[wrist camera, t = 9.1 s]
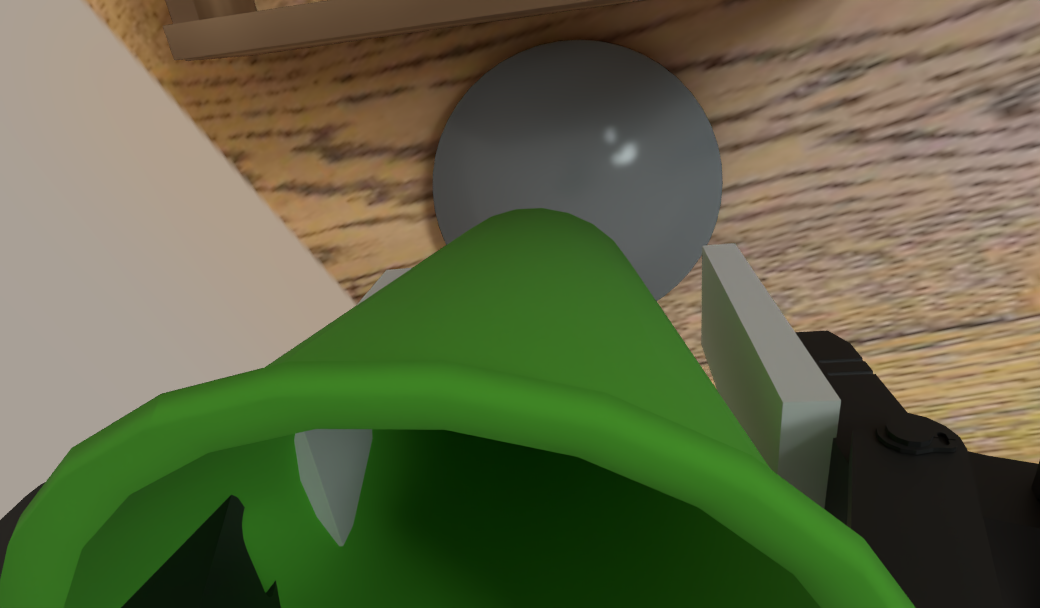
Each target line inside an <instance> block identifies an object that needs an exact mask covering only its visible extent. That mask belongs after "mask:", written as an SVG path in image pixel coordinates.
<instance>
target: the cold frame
mask: <svg viewBox="0 0 1040 608" xmlns="http://www.w3.org/2000/svg"><path fill="white" fill-rule="evenodd" d="M165 1H166V4H167V7H168V10H169V13H170V16H171V19H172V22H173V24H171V25H164V26H163V29H164V32H165V34H166V37H167V40H168V43H169V46H170V49H171V52H172V55H173V58H174V60H183V59H185V60H186V61H191V60H204V59H216V58H228V57H241V56H250V55H257V54H264V53H272V52H279V51H286V50H293V49H300V48H307V47H314V46H321V45H329V44H336V43H343V42H350V41H357V40H364V39H371V38H378V37H385V36H393V35H400V34H407V33H414V32H421V31H428V30H435V29H442V28H450V27H457V26H464V25H471V24H478V23H485V22H492V21H499V20H506V19H514V18H521V17H528V16H535V15H542V14H549V13H556V12H563V11H570V10H578V9H585V8H592V7H599V6H606V5H613V4H620V3H627V2H635V1H642V0H327V1H321V2H314V3H308V4H301V5H295V6H288V7H282V8H275V9H269V10H262V11H257V10H256V6H255V3H254V0H165Z"/></svg>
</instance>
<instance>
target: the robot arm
mask: <svg viewBox="0 0 1040 608" xmlns="http://www.w3.org/2000/svg"><path fill="white" fill-rule="evenodd" d="M410 269H412V268H405V269H392V270H386V271H385V272H384V273H383V275H382V276H381V277H380V278H379V279H378V280H377V282H376V283H375V284H374V285H373V286H372V287H371V289H370V290H369V291H368V292H367V293H366V294H365V296H364V297H363V298H362V299H361V300H360V301H359V303H358V304H360V303H361V302H363V301H364V300H366V299H367V298H369V297H370V296H372V295H373V294H374V293H376V292H377V291H379V290H380V289H382V288H383V287H385V286H386V285H388V284H389V283H391V282H392V281H394V280H395V279H397V278H398V277H400V276H401V275H403V274H404V273H406V272H407V271H409V270H410ZM358 304H357V305H358ZM357 305H356V306H357ZM701 345H702V348H703V350H704V353H705V356H706V359H707V362H708V365H709V368H710V370H711V373H712V376H713V379H714V382H715V385H716V387H717V390H718V392H719V394H720V395H721V397H722V398H723V400H724V401H725V403H726V404H727V406H728V407H729V409H730V410H731V412H732V413H733V414H734V416H735V417H736V419H737V420H738V422H739V423H740V425H741V426H742V428H743V429H744V431H745V432H746V434H747V435H748V437H749V438H750V439H751V441H752V442H753V444H754V445H755V447H756V448H757V450H758V451H759V453H760V454H761V456H762V457H763V459H764V460H765V461H766V463H767V464H768V466H769V467H770V469H771V470H772V471H774V472H775V473H776V474H778V475H779V476H780V477H782V478H783V479H784V480H786V481H787V482H788V483H790V484H791V485H793V486H794V487H795V488H797V489H798V490H799V491H801V492H802V493H803V494H805V495H806V496H807V497H809V498H810V499H811V500H813V501H814V502H815V503H817V504H818V505H819V506H821V507H822V508H823V509H825V510H826V511H828V512H829V513H830V514H832V515H833V516H834V517H836V518H837V519H838V520H840V521H841V522H842V523H844V524H845V525H846V526H848V527H849V528H850V529H852V530H853V531H854V532H856V533H857V534H859V535H860V536H861V537H863V538H864V539H865V541H866V542H867V543H868V545H869V546H870V547H871V549H872V550H873V551H874V553H875V554H876V555H877V557H878V558H879V559H880V561H881V562H882V563H883V565H884V566H885V567H886V569H887V570H888V571H889V573H890V574H891V575H892V577H893V578H894V579H895V581H896V582H897V583H898V585H899V586H900V587H901V589H902V590H903V591H904V593H905V594H906V595H907V597H908V598H909V599H910V601H911V602H912V603H913V605H914V606H915V607H916V608H1040V461H1039V464H1036V463H1030V462H1024V461H1017V460H1011V459H1005V458H999V457H993V456H987V455H982V454H978V453H973V452H969V451H967V448H966V447H965V445H964V443H963V442H962V440H961V438H960V437H959V436H958V435H956V434H955V433H954V432H952V431H951V430H950V429H949V428H947V427H946V426H944V425H942V424H940V423H937V422H935V421H933V420H931V419H929V418H926V417H923V416H918V415H914V414H910V413H907V412H906V410H905V409H904V408H903V407H902V406H901V404H900V403H899V402H898V401H897V400H896V398H895V397H894V396H893V395H892V394H891V392H890V391H889V390H888V389H887V387H886V386H885V385H884V384H883V383H882V381H881V380H880V379H879V378H878V377H877V375H876V374H873V371H872V369H871V368H870V367H869V366H868V364H867V363H866V362H865V361H863V360H862V357H861V356H860V355H859V354H858V352H857V351H856V350H855V349H854V348H853V346H852V345H851V344H850V343H849V342H847V341H845V340H843V339H842V338H840V337H838V336H836V335H834V334H833V333H831V332H829V331H813V332H795V331H794V330H793V328H792V327H791V326H790V324H789V323H788V321H787V320H786V318H785V317H784V315H783V314H782V312H781V311H780V309H779V308H778V306H777V305H776V303H775V302H774V300H773V299H772V297H771V296H770V294H769V293H768V291H767V290H766V288H765V287H764V285H763V284H762V283H761V281H760V280H759V278H758V277H757V275H756V274H755V272H754V271H753V269H752V268H751V266H750V265H749V263H748V262H747V260H746V259H745V257H744V256H743V254H742V253H741V251H740V250H739V248H738V247H737V245H736V244H735V243H732V244H719V245H705V246H702V342H701ZM372 439H373V438H372V429H314V430H309V431H305V432H300V433H296V434H295V439H294V442H295V449H296V455H297V462H298V468H299V475H300V480H301V483H302V485H303V487H304V489H305V492H306V494H307V496H308V498H309V501H310V503H311V505H312V507H313V510H314V512H315V514H316V516H317V518H318V519H319V520H320V522H321V523H322V524H323V526H324V527H325V528H326V530H327V531H328V532H329V534H330V535H331V536H332V537H333V539H334V540H335V541H336V543H337V544H338V545H339V546H343V545H344V543H345V541H346V539H347V537H348V535H349V533H350V531H351V529H352V527H353V524H354V519H355V515H356V510H357V506H358V501H359V497H360V492H361V488H362V483H363V479H364V474H365V470H366V466H367V461H368V457H369V452H370V448H371V443H372ZM44 484H45V483H43V484H41V485H40V486H38V487H37V488H36V489H34V490H33V491H32V492H30V493H29V494H28V495H27V496H25V497H24V498H23V499H22V500H21V501H20V502H19V503H18V504H17V505H16V506H15V507H14V508H13V509H12V510H11V511H9V513H7V514H6V515H5V516H4V517H3V518H2V519H1V520H0V579H1V574H2V570H3V565H4V560H5V556H6V551H7V547H8V544H9V541H10V539H11V537H12V534H13V532H14V530H15V527H16V525H17V523H18V520H19V518H20V516H21V514H22V513H23V511H24V510H25V509H26V507H27V506H28V505H29V503H30V502H31V501H32V499H33V498H34V497H35V495H36V494H37V493H38V492H39V490H40V489H41V488H42V486H43V485H44ZM244 509H245V507H244V506H243V504H242V503H241V501H240V500H239V498H238V497H236V496H234V495H230V496H229V498H228V499H227V500H226V501H225V502H224V503H223V504H222V505H221V506H220V507H219V508H218V509H217V510H216V511H215V512H214V513H213V514H212V515H211V516H210V517H209V518H208V519H207V520H206V521H205V522H204V523H203V524H202V525H201V526H200V527H199V528H198V529H197V530H196V531H195V532H194V533H193V534H192V535H191V536H190V537H189V538H188V539H187V540H186V542H185V543H184V544H183V545H182V546H181V547H180V548H179V549H178V550H177V551H176V552H175V553H174V554H173V555H172V556H171V557H170V558H169V559H168V560H167V561H166V562H165V563H164V564H163V565H162V566H161V567H160V568H159V569H158V570H157V571H156V572H155V573H154V574H153V575H152V576H151V577H150V578H149V579H148V580H147V581H146V582H145V583H144V584H143V586H142V587H141V588H140V589H139V590H138V591H137V592H136V593H135V594H134V595H133V596H132V597H131V598H130V599H129V600H128V601H127V602H126V603H125V604H124V605H123V606H122V607H121V608H281V606H280V600H279V595H278V589H277V583H276V580H275V582H274V583H273V584H272V586H271V587H270V588H269V590H268V591H267V592H266V593H265V591H264V588H263V586H262V584H261V581H260V579H259V577H258V574H257V572H256V570H255V568H254V565H253V563H252V561H251V558H250V556H249V554H248V551H247V549H246V546H245V542H244V539H243V531H242V520H243V513H244Z"/></svg>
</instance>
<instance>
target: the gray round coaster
mask: <svg viewBox="0 0 1040 608" xmlns="http://www.w3.org/2000/svg"><path fill="white" fill-rule="evenodd" d="M722 184H723V183H722V164H721V159H720V153H719V148H718V144H717V141H716V138H715V135H714V132H713V129H712V126H711V124H710V123H709V121H708V119H707V117H706V115H705V113H704V111H703V109H702V107H701V106H700V105H699V103H698V102H697V100H696V99H695V97H694V96H693V95H692V93H691V92H690V91H689V90H688V89H687V88H686V87H685V86H684V85H683V83H682V82H681V81H680V80H679V79H678V78H677V77H676V76H674V75H673V74H672V73H670V72H669V71H668V70H667V69H665V68H664V67H663V66H662V65H660V64H659V63H657V62H655V61H653V60H652V59H650V58H648V57H646V56H644V55H643V54H641V53H639V52H636V51H633V50H631V49H628V48H626V47H623V46H620V45H616V44H611V43H607V42H603V41H592V40H566V41H558V42H553V43H548V44H543V45H539V46H536V47H534V48H531V49H528V50H525V51H522V52H520V53H518V54H516V55H514V56H512V57H510V58H508V59H506V60H504V61H503V62H501V63H499V64H498V65H497V66H495V67H494V68H493V69H491V70H490V71H488V72H487V73H486V74H484V75H483V76H482V77H481V78H480V79H479V80H478V81H477V82H476V83H475V84H474V85H473V86H472V87H471V88H470V89H469V90H468V91H467V93H466V94H465V95H464V96H463V98H462V99H461V100H460V101H459V103H458V104H457V106H456V107H455V109H454V111H453V112H452V114H451V116H450V118H449V119H448V121H447V124H446V126H445V128H444V131H443V133H442V135H441V138H440V141H439V145H438V148H437V152H436V156H435V163H434V170H433V198H434V207H435V212H436V216H437V220H438V224H439V228H440V230H441V233H442V235H443V238H444V240H445V243H446V245H447V244H449V243H450V242H452V241H453V240H455V239H456V238H458V237H459V236H461V235H462V234H464V233H465V232H467V231H468V230H470V229H471V228H473V227H474V226H476V225H478V224H480V223H481V222H483V221H485V220H486V219H488V218H490V217H491V216H495V215H498V214H501V213H505V212H508V211H512V210H515V209H531V208H545V209H550V210H556V211H561V212H566V213H570V214H572V215H574V216H576V217H579V218H581V219H583V220H585V221H587V222H590V223H592V224H593V225H595V226H596V227H597V228H599V229H600V230H601V231H602V232H604V233H605V234H606V235H607V236H609V237H610V238H611V239H612V240H613V241H614V242H615V243H616V244H617V246H618V247H619V248H620V250H621V251H622V252H623V254H624V255H625V256H626V258H627V259H628V260H629V262H630V263H631V265H632V266H633V268H634V269H635V270H636V272H637V273H638V275H639V276H640V278H641V279H642V281H643V282H644V284H645V285H646V287H647V288H648V290H649V291H650V293H651V294H652V295H653V297H654V298H655V300H656V301H657V300H659V299H660V298H662V297H663V296H665V295H666V294H667V293H668V292H670V291H671V290H672V289H673V288H674V287H675V286H677V285H678V284H679V283H680V282H681V281H682V279H683V278H684V277H685V276H686V275H687V274H688V273H689V272H690V271H691V269H692V268H693V267H694V265H695V264H696V262H697V261H698V259H699V258H700V257H701V255H702V246H705V245H707V244H708V242H709V240H710V238H711V235H712V232H713V230H714V227H715V224H716V222H717V218H718V213H719V209H720V204H721V195H722Z"/></svg>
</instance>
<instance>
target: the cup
mask: <svg viewBox="0 0 1040 608" xmlns="http://www.w3.org/2000/svg"><path fill="white" fill-rule="evenodd" d="M314 429H372V438H373V439H372V443H371V448H370V452H369V457H368V461H367V466H366V470H365V474H364V479H363V483H362V488H361V492H360V497H359V501H358V506H357V510H356V515H355V519H354V524H353V527H352V529H351V531H350V533H349V535H348V537H347V539H346V541H345V543H344V545H343V546H339V545H338V544H337V543H336V541H335V540H334V539H333V537H332V536H331V535H330V534H329V532H328V531H327V530H326V528H325V527H324V526H323V524H322V523H321V522H320V520H319V519H318V518H317V516H316V514H315V512H314V510H313V507H312V505H311V503H310V501H309V498H308V496H307V494H306V492H305V489H304V487H303V485H302V483H301V480H300V475H299V468H298V462H297V455H296V449H295V442H294V439H295V434H296V433H300V432H305V431H309V430H314ZM230 495H234V496H236V497H238V498H239V500H240V501H241V503H242V504H243V506H244V507H245V509H244V513H243V520H242V531H243V539H244V542H245V546H246V549H247V551H248V554H249V556H250V558H251V561H252V563H253V565H254V568H255V570H256V572H257V574H258V577H259V579H260V581H261V584H262V586H263V588H264V591H265V593H266V592H267V591H268V590H269V588H270V587H271V586H272V584H273V583H274V582H275V580H276V583H277V589H278V595H279V600H280V606H281V608H916V607H915V606H914V605H913V603H912V602H911V601H910V599H909V598H908V597H907V595H906V594H905V593H904V591H903V590H902V589H901V587H900V586H899V585H898V583H897V582H896V581H895V579H894V578H893V577H892V575H891V574H890V573H889V571H888V570H887V569H886V567H885V566H884V565H883V563H882V562H881V561H880V559H879V558H878V557H877V555H876V554H875V553H874V551H873V550H872V549H871V547H870V546H869V545H868V543H867V542H866V541H865V539H864V538H863V537H861V536H860V535H859V534H857V533H856V532H854V531H853V530H852V529H850V528H849V527H848V526H846V525H845V524H844V523H842V522H841V521H840V520H838V519H837V518H836V517H834V516H833V515H832V514H830V513H829V512H828V511H826V510H825V509H823V508H822V507H821V506H819V505H818V504H817V503H815V502H814V501H813V500H811V499H810V498H809V497H807V496H806V495H805V494H803V493H802V492H801V491H799V490H798V489H797V488H795V487H794V486H793V485H791V484H790V483H788V482H787V481H786V480H784V479H783V478H782V477H780V476H779V475H778V474H776V473H775V472H774V471H772V470H771V469H770V467H769V466H768V464H767V463H766V461H765V460H764V459H763V457H762V456H761V454H760V453H759V451H758V450H757V448H756V447H755V445H754V444H753V442H752V441H751V439H750V438H749V437H748V435H747V434H746V432H745V431H744V429H743V428H742V426H741V425H740V423H739V422H738V420H737V419H736V417H735V416H734V414H733V413H732V412H731V410H730V409H729V407H728V406H727V404H726V403H725V401H724V400H723V398H722V397H721V395H720V394H719V392H718V391H717V389H716V388H715V387H714V385H713V384H712V382H711V381H710V379H709V378H708V376H707V375H706V373H705V372H704V370H703V369H702V367H701V366H700V365H699V363H698V362H697V360H696V359H695V357H694V356H693V354H692V353H691V351H690V350H689V348H688V347H687V345H686V344H685V342H684V341H683V340H682V338H681V337H680V335H679V334H678V332H677V331H676V329H675V328H674V326H673V325H672V323H671V322H670V320H669V319H668V317H667V316H666V315H665V313H664V312H663V310H662V309H661V307H660V306H659V304H658V303H657V301H656V300H655V298H654V297H653V295H652V294H651V293H650V291H649V290H648V288H647V287H646V285H645V284H644V282H643V281H642V279H641V278H640V276H639V275H638V273H637V272H636V270H635V269H634V268H633V266H632V265H631V263H630V262H629V260H628V259H627V258H626V256H625V255H624V254H623V252H622V251H621V250H620V248H619V247H618V246H617V244H616V243H615V242H614V241H613V240H612V239H611V238H610V237H609V236H607V235H606V234H605V233H604V232H602V231H601V230H600V229H599V228H597V227H596V226H595V225H593V224H592V223H590V222H587V221H585V220H583V219H581V218H579V217H576V216H574V215H572V214H570V213H566V212H561V211H556V210H550V209H545V208H531V209H515V210H512V211H508V212H505V213H501V214H498V215H495V216H491V217H490V218H488V219H486V220H485V221H483V222H481V223H480V224H478V225H476V226H474V227H473V228H471V229H470V230H468V231H467V232H465V233H464V234H462V235H461V236H459V237H458V238H456V239H455V240H453V241H452V242H450V243H449V244H447V245H446V246H444V247H443V248H441V249H440V250H438V251H437V252H435V253H434V254H432V255H431V256H429V257H428V258H426V259H425V260H423V261H422V262H421V263H419V264H418V265H416V266H415V267H413V268H412V269H410V270H409V271H407V272H406V273H404V274H403V275H401V276H400V277H398V278H397V279H395V280H394V281H392V282H391V283H389V284H388V285H386V286H385V287H383V288H382V289H380V290H379V291H377V292H376V293H374V294H373V295H372V296H370V297H369V298H367V299H366V300H364V301H363V302H361V303H360V304H358V305H357V306H355V307H354V308H352V309H351V310H349V311H348V312H346V313H345V314H343V315H342V316H340V317H339V318H337V319H336V320H335V321H333V322H332V323H330V324H328V325H327V326H326V327H324V328H323V329H321V330H320V331H318V332H317V333H315V334H314V335H312V336H311V337H309V338H308V339H307V340H305V341H303V342H302V343H300V344H299V345H297V346H296V347H294V348H293V349H291V350H290V351H288V352H287V353H286V354H284V355H283V356H281V357H279V358H278V359H277V360H275V361H274V362H272V363H271V364H269V365H268V366H266V367H265V368H261V369H257V370H253V371H249V372H245V373H242V374H238V375H233V376H229V377H226V378H222V379H218V380H214V381H210V382H206V383H202V384H198V385H194V386H190V387H186V388H182V389H178V390H175V391H171V392H166V393H162V394H160V395H158V396H157V397H155V398H154V399H152V400H150V401H149V402H147V403H145V404H144V405H142V406H140V407H139V408H137V409H135V410H134V411H132V412H130V413H129V414H127V415H125V416H124V417H122V418H120V419H119V420H117V421H116V422H114V423H112V424H111V425H109V426H108V427H106V428H104V429H102V430H101V431H99V432H97V433H96V434H94V435H93V436H91V437H89V438H88V439H86V440H84V441H83V442H81V443H79V444H78V445H76V446H74V447H73V448H71V450H70V451H69V452H68V454H67V455H66V456H65V457H64V459H63V460H62V462H61V463H60V464H59V465H58V467H57V468H56V469H55V471H54V472H53V473H52V475H51V476H50V477H49V479H48V480H47V481H46V482H45V484H44V485H43V486H42V488H41V489H40V490H39V492H38V493H37V494H36V495H35V497H34V498H33V499H32V501H31V502H30V503H29V505H28V506H27V507H26V509H25V510H24V511H23V513H22V514H21V516H20V518H19V520H18V523H17V525H16V527H15V530H14V532H13V534H12V537H11V539H10V541H9V544H8V547H7V551H6V556H5V560H4V565H3V570H2V574H1V579H0V608H121V607H122V606H123V605H124V604H125V603H126V602H127V601H128V600H129V599H130V598H131V597H132V596H133V595H134V594H135V593H136V592H137V591H138V590H139V589H140V588H141V587H142V586H143V584H144V583H145V582H146V581H147V580H148V579H149V578H150V577H151V576H152V575H153V574H154V573H155V572H156V571H157V570H158V569H159V568H160V567H161V566H162V565H163V564H164V563H165V562H166V561H167V560H168V559H169V558H170V557H171V556H172V555H173V554H174V553H175V552H176V551H177V550H178V549H179V548H180V547H181V546H182V545H183V544H184V543H185V542H186V540H187V539H188V538H189V537H190V536H191V535H192V534H193V533H194V532H195V531H196V530H197V529H198V528H199V527H200V526H201V525H202V524H203V523H204V522H205V521H206V520H207V519H208V518H209V517H210V516H211V515H212V514H213V513H214V512H215V511H216V510H217V509H218V508H219V507H220V506H221V505H222V504H223V503H224V502H225V501H226V500H227V499H228V498H229V496H230Z"/></svg>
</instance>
